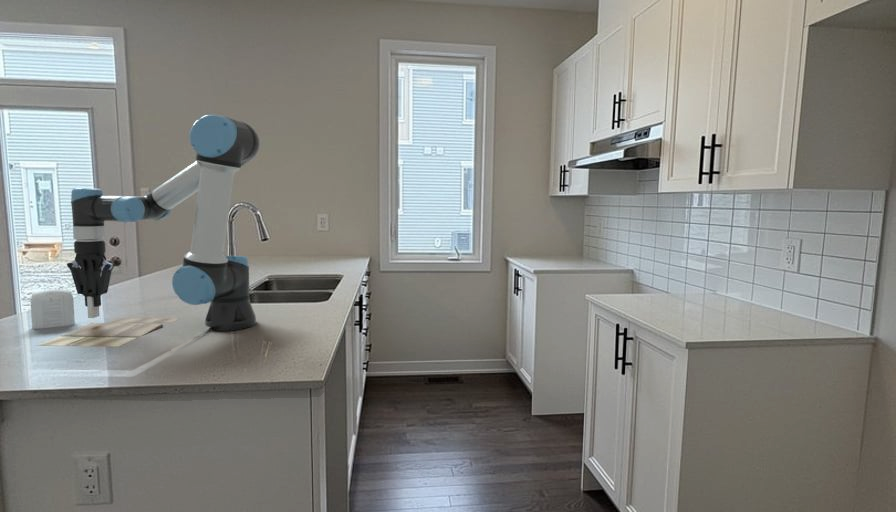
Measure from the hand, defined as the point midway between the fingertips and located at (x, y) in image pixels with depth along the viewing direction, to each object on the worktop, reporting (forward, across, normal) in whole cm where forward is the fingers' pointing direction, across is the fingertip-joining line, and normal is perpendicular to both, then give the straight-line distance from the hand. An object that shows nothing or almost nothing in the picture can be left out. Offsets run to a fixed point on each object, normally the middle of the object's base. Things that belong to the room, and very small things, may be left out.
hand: (93, 316), depth 145 cm
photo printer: (+5, +13, -1) cm, 14 cm away
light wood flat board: (+4, -9, +14) cm, 17 cm away
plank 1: (+4, -9, +3) cm, 10 cm away
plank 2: (+4, -10, -9) cm, 14 cm away
